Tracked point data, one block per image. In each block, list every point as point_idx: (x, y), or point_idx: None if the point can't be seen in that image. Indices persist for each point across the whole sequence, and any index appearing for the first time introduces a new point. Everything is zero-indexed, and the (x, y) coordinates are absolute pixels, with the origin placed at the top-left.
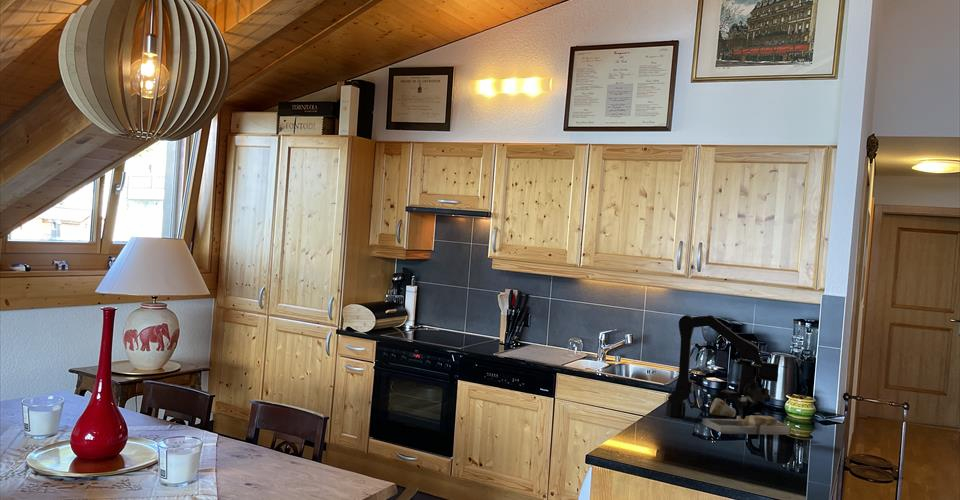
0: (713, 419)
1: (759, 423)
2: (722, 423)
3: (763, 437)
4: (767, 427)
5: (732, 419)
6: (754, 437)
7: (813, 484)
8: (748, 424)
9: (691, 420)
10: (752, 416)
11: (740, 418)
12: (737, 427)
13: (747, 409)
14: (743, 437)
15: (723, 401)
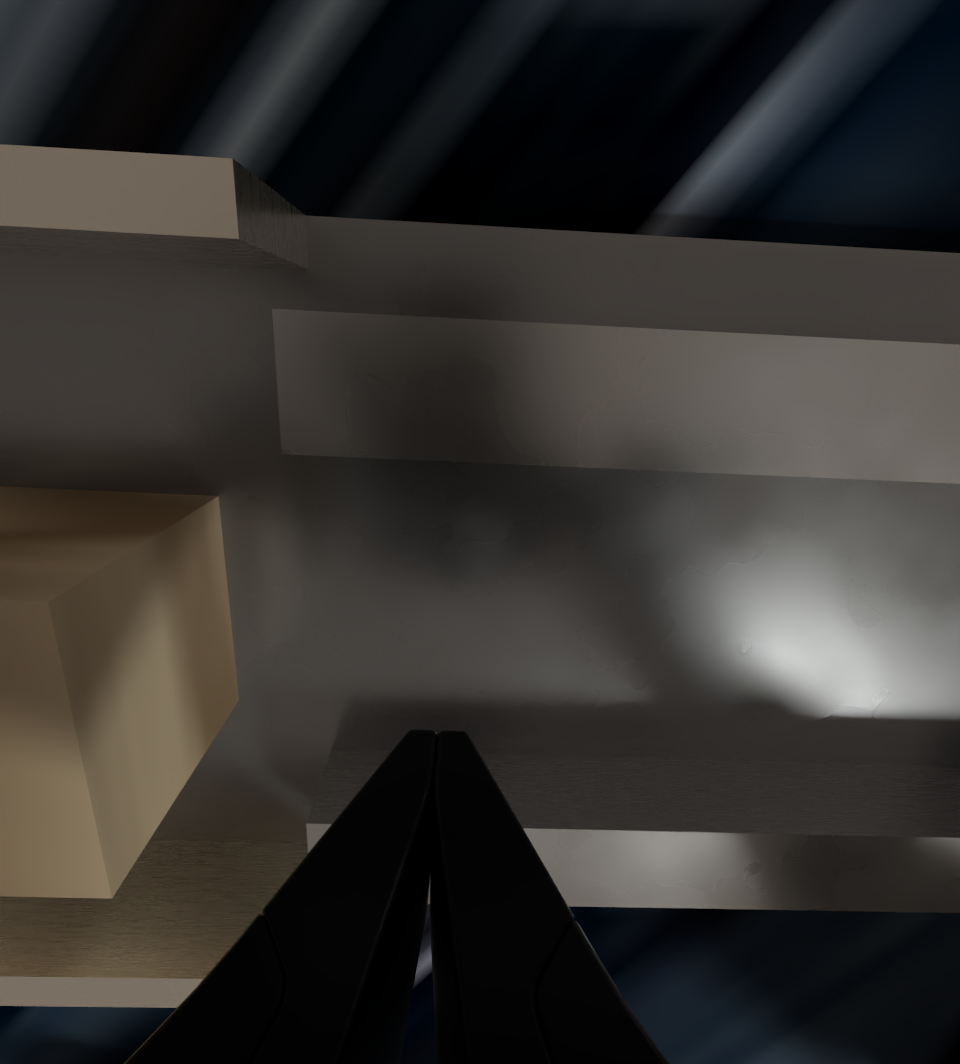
0: (931, 875)
1: (56, 541)
2: (745, 787)
3: (324, 86)
4: (12, 155)
5: None
6: (580, 88)
7: None
8: None
9: (906, 998)
10: (87, 808)
11: None
12: (923, 344)
13: (332, 982)
14: (883, 91)
15: None
